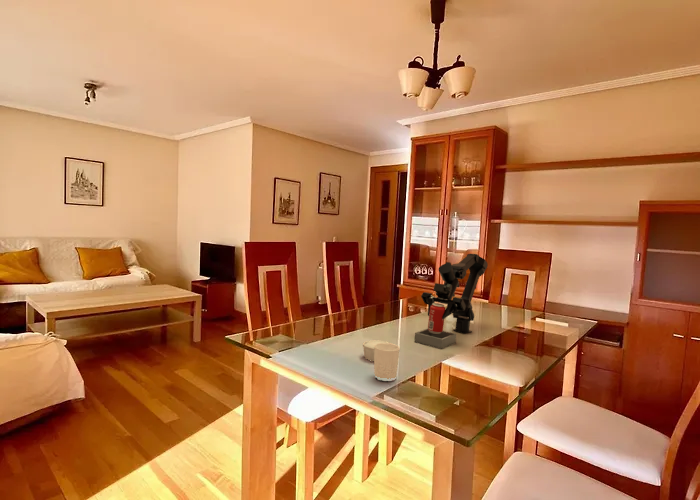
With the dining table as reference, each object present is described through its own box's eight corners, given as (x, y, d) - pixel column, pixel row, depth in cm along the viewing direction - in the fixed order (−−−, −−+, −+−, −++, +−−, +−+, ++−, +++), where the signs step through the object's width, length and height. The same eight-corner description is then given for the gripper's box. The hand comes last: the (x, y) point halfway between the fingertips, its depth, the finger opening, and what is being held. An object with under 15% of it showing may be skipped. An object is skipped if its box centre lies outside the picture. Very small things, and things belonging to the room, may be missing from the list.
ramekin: (362, 352, 141) (363, 338, 141) (391, 354, 141) (392, 340, 141) (362, 363, 130) (362, 348, 130) (394, 365, 130) (395, 350, 130)
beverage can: (445, 334, 157) (448, 306, 156) (432, 334, 155) (435, 306, 154) (437, 329, 163) (440, 302, 162) (424, 329, 161) (427, 302, 160)
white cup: (371, 373, 121) (372, 342, 121) (395, 373, 122) (396, 343, 121) (374, 383, 113) (376, 350, 113) (400, 383, 114) (402, 351, 114)
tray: (429, 336, 168) (429, 327, 168) (455, 343, 160) (456, 334, 160) (414, 342, 159) (415, 332, 158) (441, 349, 150) (442, 339, 150)
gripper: (424, 274, 167) (409, 301, 159) (464, 279, 155) (450, 309, 147) (432, 289, 173) (418, 317, 166) (471, 296, 161) (458, 325, 153)
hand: (435, 317), depth 158 cm, fingers closed on beverage can, 6 cm apart
